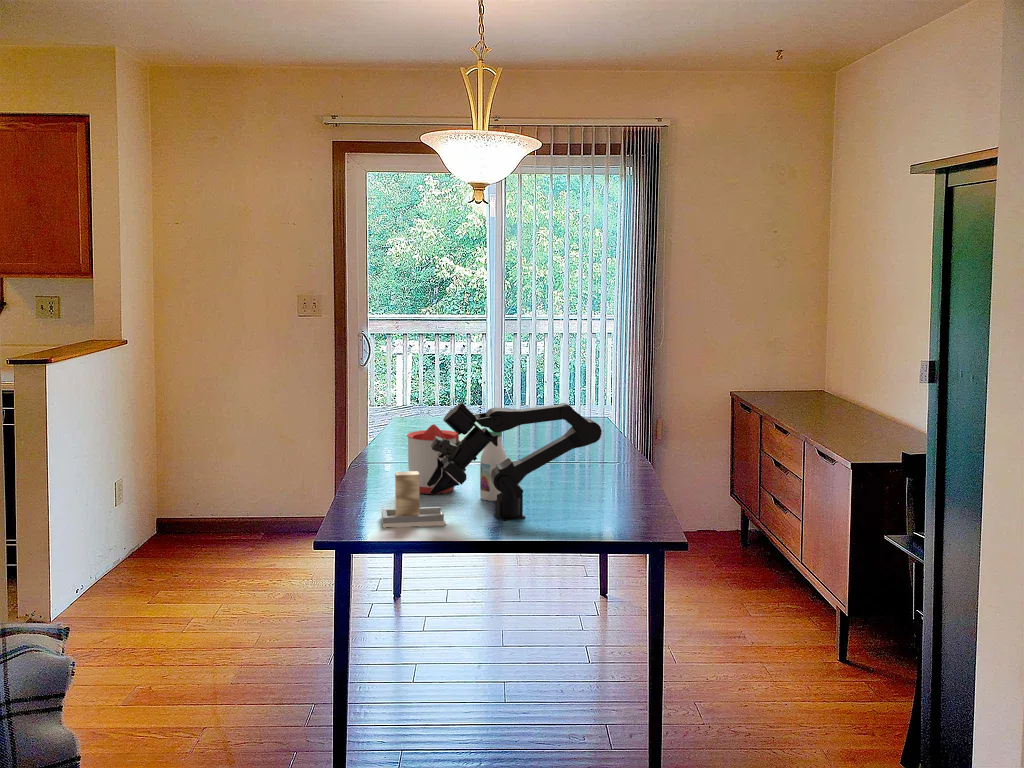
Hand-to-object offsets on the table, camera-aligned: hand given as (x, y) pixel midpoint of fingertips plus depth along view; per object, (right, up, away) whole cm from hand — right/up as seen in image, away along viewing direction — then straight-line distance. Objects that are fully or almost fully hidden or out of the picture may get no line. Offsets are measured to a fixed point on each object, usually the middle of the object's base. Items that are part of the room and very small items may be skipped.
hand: (429, 489), depth 249 cm
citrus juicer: (-1, -4, +34) cm, 34 cm away
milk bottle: (+16, -5, +25) cm, 30 cm away
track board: (-4, -8, 0) cm, 9 cm away
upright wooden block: (-6, -7, 0) cm, 9 cm away
